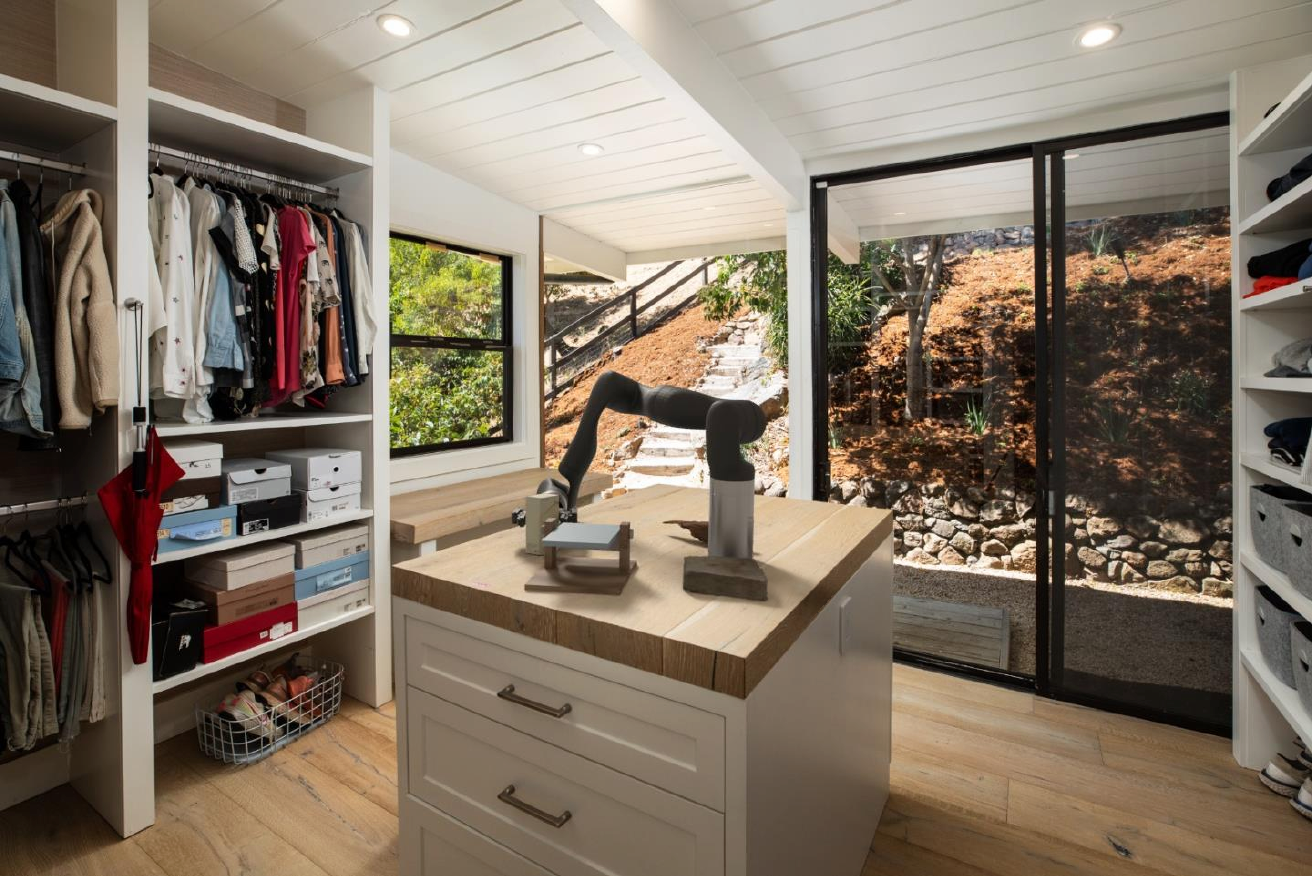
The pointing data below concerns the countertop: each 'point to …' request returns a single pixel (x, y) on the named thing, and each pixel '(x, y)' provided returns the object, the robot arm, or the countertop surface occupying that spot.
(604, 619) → the countertop surface
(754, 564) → the grey brown flat block
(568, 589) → the frame
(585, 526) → the trapdoor flap
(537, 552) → the skincare box
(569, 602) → the countertop surface
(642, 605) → the countertop surface
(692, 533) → the bird sculpture
